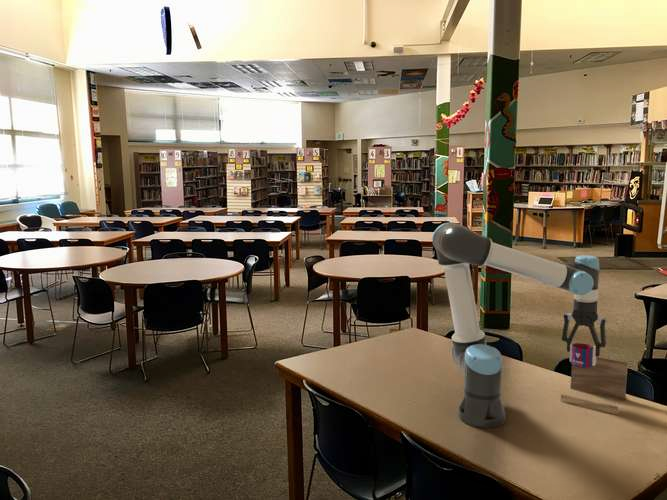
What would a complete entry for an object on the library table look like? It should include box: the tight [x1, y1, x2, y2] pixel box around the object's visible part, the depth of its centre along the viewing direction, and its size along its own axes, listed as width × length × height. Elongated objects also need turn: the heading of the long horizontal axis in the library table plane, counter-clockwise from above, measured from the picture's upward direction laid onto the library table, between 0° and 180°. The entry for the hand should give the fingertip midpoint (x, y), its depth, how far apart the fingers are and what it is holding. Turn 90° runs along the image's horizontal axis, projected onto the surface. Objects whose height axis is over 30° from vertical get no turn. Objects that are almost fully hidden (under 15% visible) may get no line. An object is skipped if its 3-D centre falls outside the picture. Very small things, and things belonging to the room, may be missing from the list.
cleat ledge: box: [560, 393, 619, 416], centre depth 180 cm, size 1×18×2 cm, turn 53°
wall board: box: [570, 355, 629, 401], centre depth 191 cm, size 3×18×14 cm, turn 53°
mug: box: [570, 342, 594, 368], centre depth 185 cm, size 7×10×7 cm
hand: (582, 362), depth 186 cm, fingers closed on mug, 7 cm apart
